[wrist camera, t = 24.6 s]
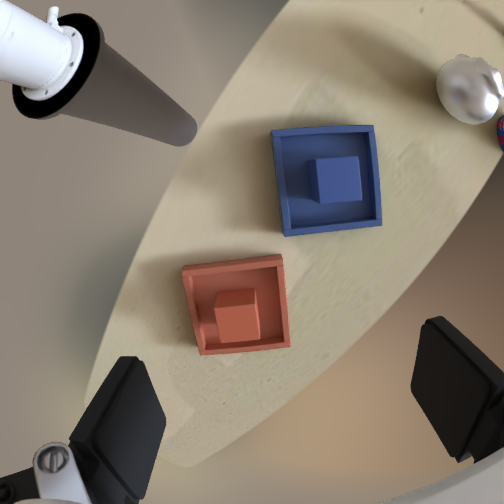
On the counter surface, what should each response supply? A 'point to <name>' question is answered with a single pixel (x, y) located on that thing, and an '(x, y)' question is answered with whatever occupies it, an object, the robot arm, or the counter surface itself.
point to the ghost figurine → (469, 89)
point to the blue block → (335, 179)
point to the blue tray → (298, 186)
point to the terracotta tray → (230, 279)
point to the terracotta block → (237, 316)
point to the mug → (501, 131)
